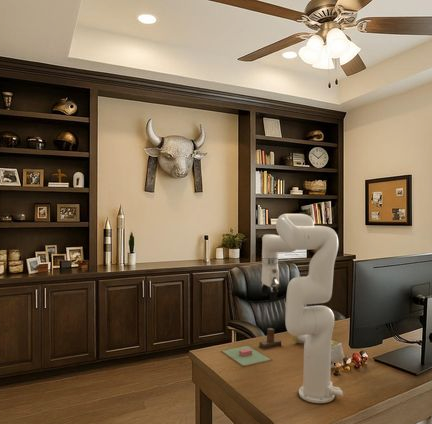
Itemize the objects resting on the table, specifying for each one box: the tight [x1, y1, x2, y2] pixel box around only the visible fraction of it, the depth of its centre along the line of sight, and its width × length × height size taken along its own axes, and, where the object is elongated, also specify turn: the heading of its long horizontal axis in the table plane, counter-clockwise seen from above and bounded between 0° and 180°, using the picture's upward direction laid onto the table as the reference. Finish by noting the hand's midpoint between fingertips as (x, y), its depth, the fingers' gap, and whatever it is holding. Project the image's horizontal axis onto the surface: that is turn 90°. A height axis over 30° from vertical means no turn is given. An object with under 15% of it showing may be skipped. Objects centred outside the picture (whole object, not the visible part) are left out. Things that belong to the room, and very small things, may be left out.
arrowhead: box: [331, 342, 346, 369], centre depth 163 cm, size 8×2×10 cm, turn 119°
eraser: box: [239, 349, 252, 357], centre depth 174 cm, size 3×5×2 cm, turn 122°
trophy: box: [292, 335, 340, 354], centre depth 181 cm, size 8×8×30 cm
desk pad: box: [222, 345, 272, 367], centre depth 174 cm, size 20×14×1 cm
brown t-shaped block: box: [258, 327, 282, 350], centre depth 187 cm, size 4×10×8 cm, turn 122°
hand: (269, 297), depth 180 cm, fingers open, 9 cm apart
